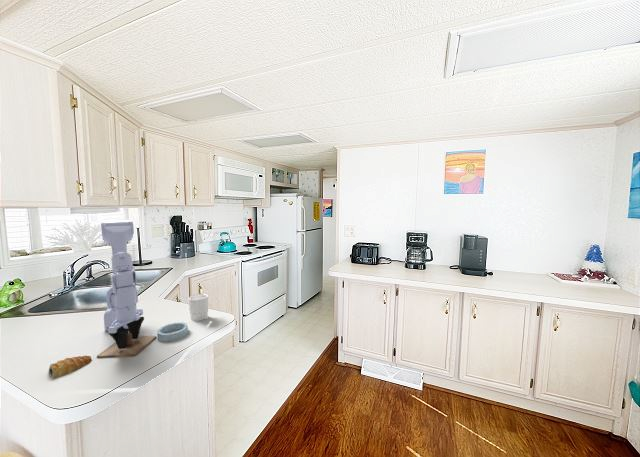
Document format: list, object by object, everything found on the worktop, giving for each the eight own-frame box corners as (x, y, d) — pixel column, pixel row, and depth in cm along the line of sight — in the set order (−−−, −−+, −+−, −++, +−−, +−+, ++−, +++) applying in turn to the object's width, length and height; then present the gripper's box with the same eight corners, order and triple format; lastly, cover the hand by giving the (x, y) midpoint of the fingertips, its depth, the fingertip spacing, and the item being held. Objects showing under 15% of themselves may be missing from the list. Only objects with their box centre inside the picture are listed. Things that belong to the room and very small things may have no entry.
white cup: (201, 323, 108) (200, 300, 108) (185, 322, 110) (184, 299, 109) (212, 316, 116) (212, 294, 115) (197, 314, 118) (196, 293, 117)
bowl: (151, 343, 93) (151, 335, 92) (166, 330, 102) (166, 322, 102) (180, 342, 93) (180, 334, 93) (192, 329, 103) (191, 321, 103)
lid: (96, 357, 83) (95, 344, 82) (122, 338, 95) (121, 326, 94) (135, 356, 84) (134, 342, 83) (156, 337, 95) (155, 325, 95)
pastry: (88, 358, 84) (87, 347, 84) (95, 365, 80) (94, 354, 80) (47, 374, 76) (45, 362, 76) (53, 383, 72) (51, 370, 72)
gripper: (123, 313, 81) (126, 354, 82) (150, 297, 95) (152, 332, 96) (100, 314, 80) (103, 355, 82) (130, 298, 95) (133, 333, 96)
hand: (128, 343), depth 89 cm, fingers open, 6 cm apart
